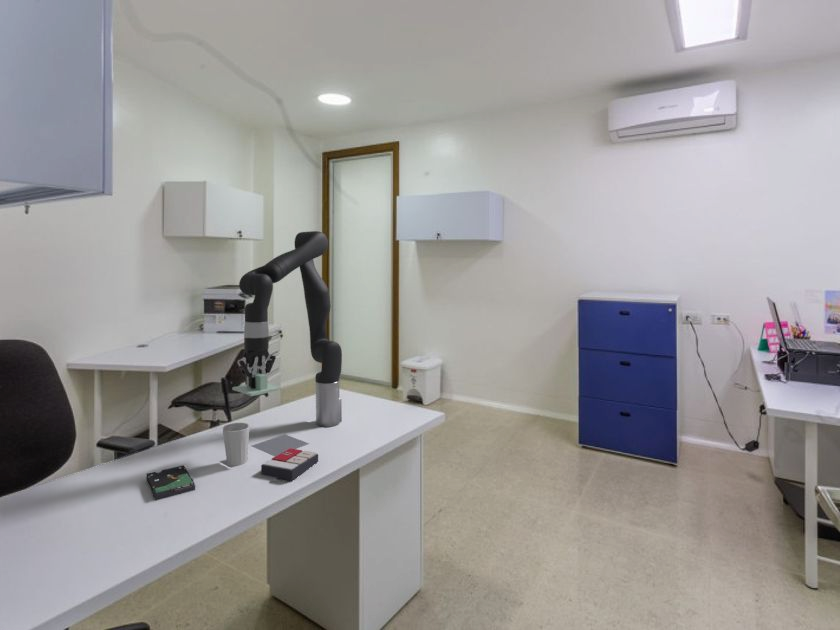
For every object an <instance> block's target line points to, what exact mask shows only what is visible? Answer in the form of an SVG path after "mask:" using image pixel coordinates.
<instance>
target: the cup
mask: <svg viewBox="0 0 840 630" xmlns="http://www.w3.org/2000/svg"><path fill="white" fill-rule="evenodd" d="M222 434H223V440H224V441H223V442H224V449H225V450H224V451H225V456H226V464H227V467H228V468H229V467H230V468H231V467H236V466H237V467H238V466H243V465H245V464H246V463H248V461H249V456H248V455H249V439H250V437H249V436H250V424H249V423H247V422H232V423H229V424H226V425H224V426H222Z"/></svg>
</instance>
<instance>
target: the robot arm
mask: <svg viewBox="0 0 840 630" xmlns="http://www.w3.org/2000/svg"><path fill="white" fill-rule="evenodd" d="M328 247H329V240H328V237H327V236H326V234H325V233H324V232H321V231H319V230H318V231H317V230H312V231H301V232H298V233H297V234H296V236H295V237H294V249H291V250H289V251H286V252H284V253H281V254H280V255H277V256H275V257H274V258H273V259H271V260H270V261H268V262H267V263H265V264H264V265H262V266H259V267H257V268H254V269H251V270H249V271H248V272H246V273H245V274H244V275H242V276H241V278H240V280H239V283H238V287H239V290H240V291H241V292H242V293H243V294H244V295H247V296H254V297H253V302H249V303H246V304H245V306H244V325H243V326H244V327H243V337H244V338H243V344H244V345H243V347H244V348H243V349H244V354H243V357H242V358H240V359H237V360H236V364H237V367H238V368H239V371H240V372H241V374H242V375H243V376H246V378H247V377H249V387H250V388H252V389H255V388H256V382H255V372H256V371H257V373H261V374H264V375H267V374H270V373H271V371H272V368H273V366H274V364H275V361H276V359H277V357H276V355H272V354H270V352H269V348H270V347H269V344H270V343H269V342H270V341H269V322H268V312H269V311H268V310H269V305H270V302H271V298H272V295H273V289H274V285H273V284H277V283H278V282H280V281H281V280H283V279H284V278H285V277H286V276H288V275H289V274H291V273H292V272H293V271H295V270H297V269H298V268H299V271H300V275H301V281H302V286H303V292H304V301H305V308H306V313H307V321H308V326H309V327H308V328H309V337H310V338H309V345H310V354H311V357H312V359H313V360H314V361H315V362H317V363H320V364H321V371H318V372H317V373H316V374H315V377H314V378H315V421H316V425H317V426H319V427H324V428H326V427H327V428H328V427H335V426H338V425H339V424H340V423H341V422H343V421H342V419H343V417H342V415H343V413H342V412H343V411H342V407H343V406H342V404H343V403H342V397H340V376H341V373H342V366H343V365H342V363H343V362H342V361H343V359H342V358H343V353H342V352H343V351H342V347H341V345H340V343H338V342H337V341H333V340H330V339H328V334H327V333H328V332H327V321H328V319H329V316H330V311H331V307H332V306H331V297H330V290H329V287H328V286H327V284H326V282H325V281H324V280H323V278H322V277H321V275H320V273H319V272H318V270H317V269H316V266H315V261H314V259H316V258H318V257H320V256H323V255H324V254H325V253H326V252H327V250H328ZM246 364H247V365H246Z"/></svg>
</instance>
